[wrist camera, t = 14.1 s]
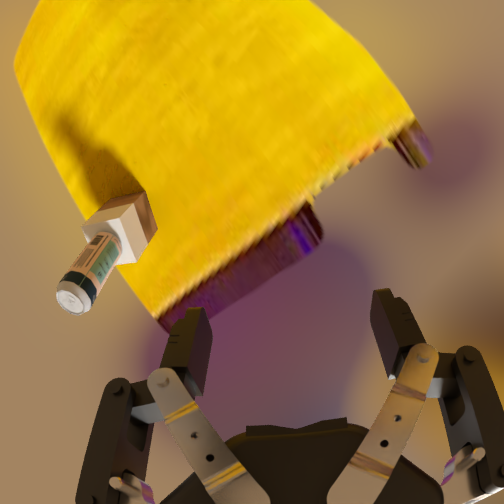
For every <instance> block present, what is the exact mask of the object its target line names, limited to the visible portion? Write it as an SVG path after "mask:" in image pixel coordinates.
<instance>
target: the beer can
mask: <svg viewBox="0 0 504 504" xmlns="http://www.w3.org/2000/svg"><path fill="white" fill-rule="evenodd" d="M121 254H122V245H121V243H120V241H119V239H118V238H117V237H116V236H115V235H113V234H112V233H109V232H105V231H101V232H98V233H96V234H95V235H94V237H93V238H92V239H91V241H90V242H89V243H88V244H87V246H86V247H85V248H84V250H83V251H82V252H81V254H80V255H79V256H78V257H77V259H76V260H75V262H74V263H73V264H72V266H71V267H70V268H69V270H68V271H67V273H66V274H65V276H64V277H63V278H62V280H61V281H60V282H59V284H58V286H57V293H56V294H57V301H58V302H59V304H60V305H61V307H62V308H63V309H65V310H66V311H67V312H69V313H70V314H74V315H80V314H83V313H84V312H87V311H88V310H89V309H90V308H91V306H92V304H93V303H94V301H95V299H96V297H97V295H98V293H99V292H100V290H101V288H102V286H103V285H104V283H105V281H106V280H107V278H108V276H109V274H110V273H111V271H112V269H113V268H114V266H115V264H116V263H117V261H118V259H119V258H120V256H121Z"/></svg>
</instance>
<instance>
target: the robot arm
mask: <svg viewBox="0 0 504 504" xmlns="http://www.w3.org/2000/svg"><path fill="white" fill-rule="evenodd" d="M370 322H371V327H372V330H373V332H374V336H375V339H376V342H377V344H378V348H379V351H380V354H381V357H382V360H383V364H384V367H385V370H386V374H387V377H388V379H394V378H396V382H395V384H394V386H393V387H392V389H391V391H390V393H389V395H388V397H387V399H386V401H385V403H384V405H383V407H382V409H381V410H380V413H379V414H378V416H377V418H376V420H375V421H374V423H373V425H372V426H371V428H370V430H369V429H367V428H365V427H363V426H359V425H356V424H350V423H347V418H346V417H345V418H339V419H331V420H324V421H320V422H317V423H314V424H311V425H308V426H305V427H302V428H298V429H293V428H286V427H279V426H273V425H261V426H246V432H244V433H241V434H238V435H236V436H233V437H232V438H230V439H228V440H227V441H226V442H223V440H222V439H221V438H220V436H219V435H218V434H217V432H216V431H215V430H214V429H213V427H212V426H211V424H210V423H209V421H208V420H207V419H206V417H205V416H204V414H203V413H202V411H201V410H200V409H199V407H198V406H197V405H196V403H195V402H194V401H195V396H203V392H204V387H205V381H206V374H207V369H208V363H209V358H210V352H211V346H212V340H213V335H212V329H211V326H210V323H209V320H208V317H207V314H206V311H205V309H204V307H196V308H188V309H187V311H186V314H185V318H184V319H178V320H177V322H176V323H175V324H174V325H173V326H172V329H171V332H170V337H169V338H168V344H167V345H166V348H165V351H164V354H163V358H162V361H161V365H160V367H159V369H157V370H155V371H154V372H152V373H151V374H150V376H149V377H148V379H147V380H144V381H140V382H136V383H131V384H130V383H129V381H128V380H126V379H125V378H115V379H113V380H112V381H110V382H109V383H108V384H107V385H106V387H105V389H104V392H103V395H102V399H101V401H100V405H99V408H98V411H97V414H96V418H95V421H94V425H93V428H92V432H91V435H90V439H89V442H88V446H87V450H86V454H85V458H84V462H83V466H82V470H81V474H80V479H79V483H78V488H77V493H76V498H75V502H76V504H155V502H154V499H153V491H152V489H151V487H150V486H149V485H148V484H147V483H145V477H146V470H147V463H148V456H149V450H150V445H151V439H152V433H153V427H154V422H159V421H163V420H164V422H165V424H166V426H167V427H168V429H169V431H170V433H171V434H172V436H173V438H174V439H175V441H176V443H177V445H178V446H179V448H180V449H181V451H182V453H183V454H184V456H185V457H186V459H187V461H188V462H189V464H190V465H191V467H192V468H193V470H194V472H193V473H192V474H191V475H190V476H189V477H188V478H187V479H186V480H185V481H184V482H183V483H181V485H179V486H178V487H177V488H176V489H175V490H174V491H173V492H171V493H170V494H169V495H168V496H167V497H166V498H165V499H164V500H162V501H161V503H160V504H473V503H475V502H477V501H480V500H482V499H484V498H486V497H488V496H490V495H492V494H494V493H496V492H498V491H500V490H502V489H504V411H503V408H502V405H501V402H500V399H499V397H498V394H497V391H496V389H495V386H494V383H493V381H492V378H491V376H490V374H489V371H488V369H487V367H486V364H485V362H484V360H483V357H482V355H481V353H480V352H479V351H478V350H477V349H476V348H474V347H472V346H463V347H461V348H459V349H458V350H457V352H456V354H452V353H440V352H437V350H436V349H435V348H434V347H433V346H432V345H429V344H427V343H426V341H425V339H424V337H423V335H422V332H421V330H420V328H419V326H418V324H417V322H416V320H415V318H414V316H413V314H412V312H411V310H410V307H409V306H408V304H407V303H406V302H405V301H404V300H403V299H402V298H401V297H397V298H394V296H393V294H392V292H391V290H390V289H389V288H385V289H378V290H374V291H373V296H372V304H371V310H370ZM426 397H432V398H438V401H439V405H440V408H441V412H442V416H443V420H444V424H445V428H446V432H447V437H448V441H449V446H450V451H451V456H452V458H450V459H449V460H448V462H447V463H446V465H445V468H444V478H443V481H442V483H441V485H439V484H438V483H437V481H436V480H434V479H433V478H432V477H430V476H429V475H428V474H426V473H425V472H424V471H422V470H421V469H419V468H418V467H417V466H416V465H414V464H413V463H412V462H410V461H409V460H407V459H406V458H405V457H404V456H403V455H401V453H402V451H403V450H404V448H405V446H406V444H407V441H408V439H409V437H410V435H411V433H412V431H413V429H414V427H415V424H416V422H417V420H418V417H419V415H420V413H421V410H422V408H423V405H424V403H425V400H426Z"/></svg>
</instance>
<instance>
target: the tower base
mask: <svg viewBox="0 0 504 504" xmlns="http://www.w3.org/2000/svg"><path fill="white" fill-rule="evenodd" d="M131 203H134V206H135V209H136V212H137V215H138V218H139V221H140V224H141V226H142V229H143V232H144V235H145V237H146V240H147V243H149V242H150V240H151V239H152V237H153V236H154V234H155V233H156V231H157V229H158V228H157V225H156V222H155V219H154V216H153V213H152V210H151V207H150V204H149V201H148V198H147V194H146V191H142V192H138V193H133V194H129V195H125V196H121V197H117V198H113V199H110V200H109V201H108V202H106V203H105V204H104V205H103V206H102V207H101V208H100V209H99V210H98V211H101V210H105V209H110V208H114V207H118V206H122V205H127V204H131Z"/></svg>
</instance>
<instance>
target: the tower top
mask: <svg viewBox="0 0 504 504" xmlns="http://www.w3.org/2000/svg"><path fill="white" fill-rule="evenodd" d="M81 228H82V231H83V233H84V235H85V238H86V240H87V242H88V243H89V242H90V241H91V239H92V238H93V237H94V235H95V234H96V233H98V232H101V231H105V232H109V233H112V234H113V235H115V236H116V237H117V238H118V239H119V241H120V243H121V245H122V254H121V256H120V258H119V259H118V261H117V263H116V264H115V265H118V264H126V263H134V262H137V261H138V259H139V258H140V256H141V254H142V253H143V251H144V250H145V248H146V246H147V245H148V243H147V240H146V237H145V235H144V232H143V229H142V226H141V224H140V221H139V218H138V215H137V212H136V209H135V206H134V203H131V204H127V205H122V206H118V207H114V208H110V209H105V210H101V211H97V212H96V213H95V214H94V215H92V216H91V217H90V218H89V219H88V220H87V221H86V222H85V223H84V224H83V225H82V226H81Z"/></svg>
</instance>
